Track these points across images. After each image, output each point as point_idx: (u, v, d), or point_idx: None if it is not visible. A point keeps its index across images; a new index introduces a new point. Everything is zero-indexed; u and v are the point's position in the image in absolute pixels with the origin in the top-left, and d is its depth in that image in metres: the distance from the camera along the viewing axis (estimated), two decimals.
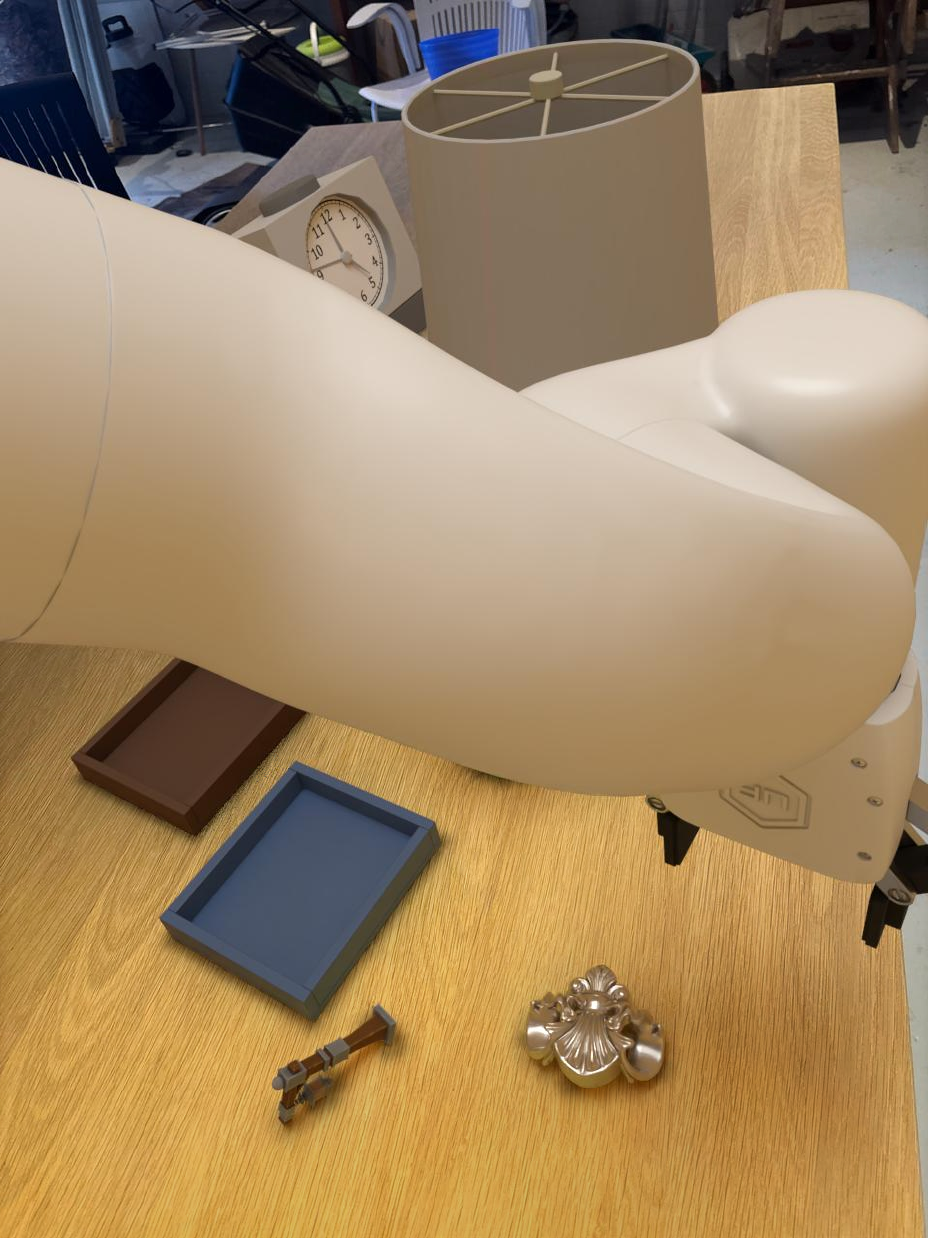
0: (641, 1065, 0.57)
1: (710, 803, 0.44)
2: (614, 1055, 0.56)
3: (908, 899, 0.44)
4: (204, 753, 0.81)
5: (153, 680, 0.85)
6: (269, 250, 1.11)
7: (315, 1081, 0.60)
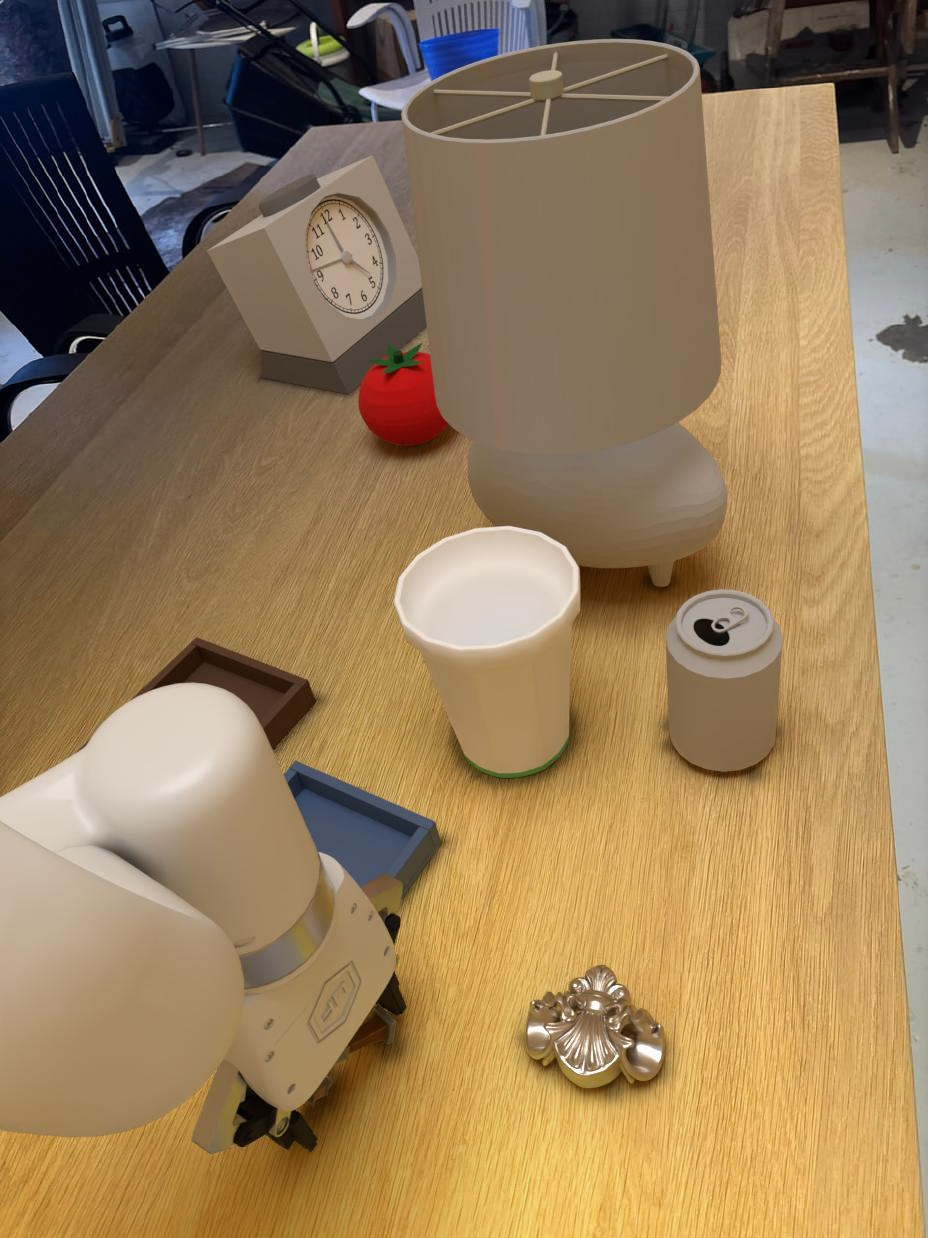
0: (641, 1065, 0.57)
1: (316, 1057, 0.52)
2: (614, 1055, 0.56)
3: None
4: None
5: (153, 680, 0.85)
6: (269, 250, 1.11)
7: None
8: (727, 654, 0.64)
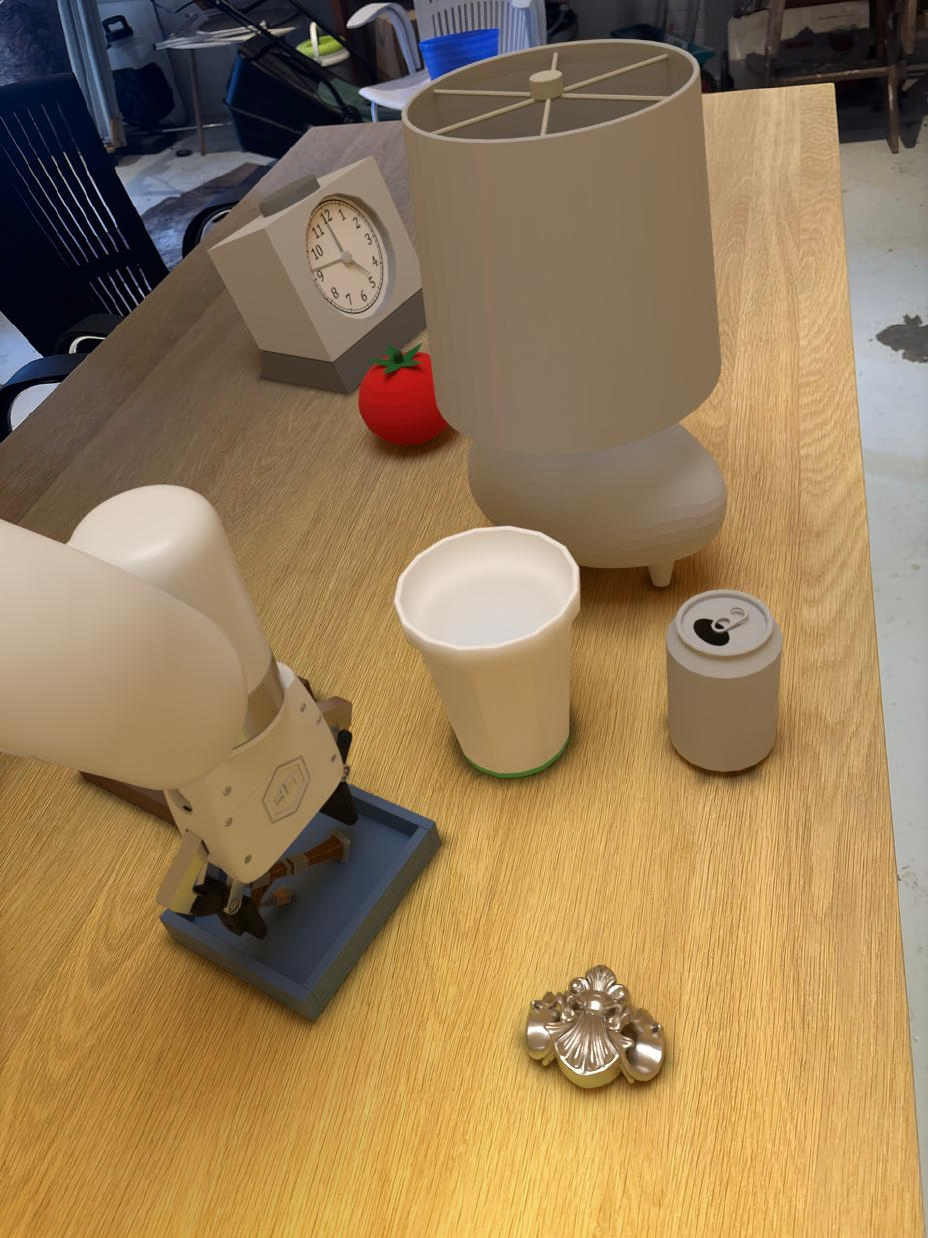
0: (641, 1065, 0.57)
1: (270, 836, 0.60)
2: (614, 1055, 0.56)
3: (347, 771, 0.68)
4: None
5: None
6: (269, 250, 1.11)
7: (279, 889, 0.69)
8: (727, 654, 0.64)
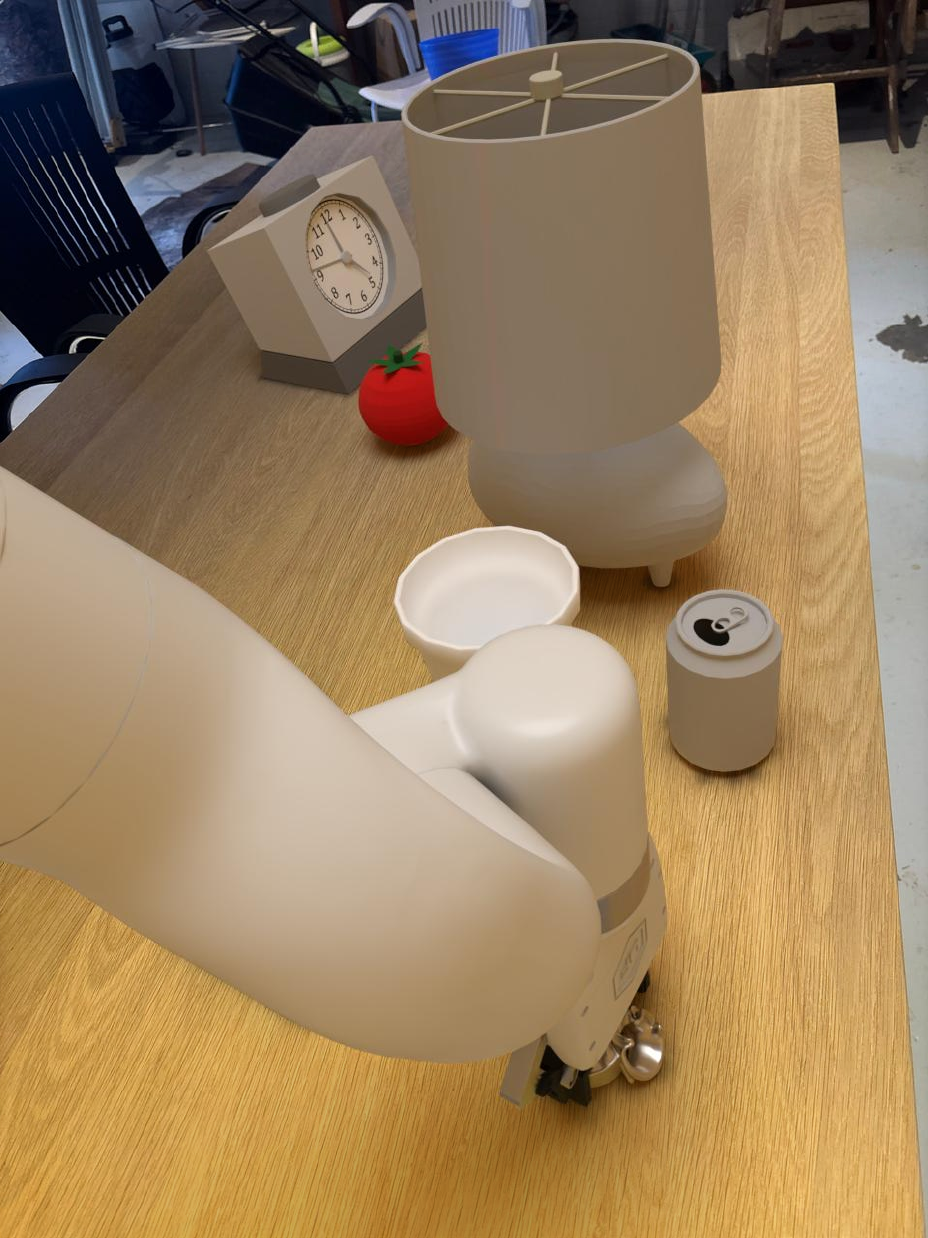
0: (641, 1065, 0.57)
1: (611, 1015, 0.51)
2: (614, 1055, 0.56)
3: None
4: None
5: None
6: (269, 250, 1.11)
7: None
8: (727, 654, 0.64)
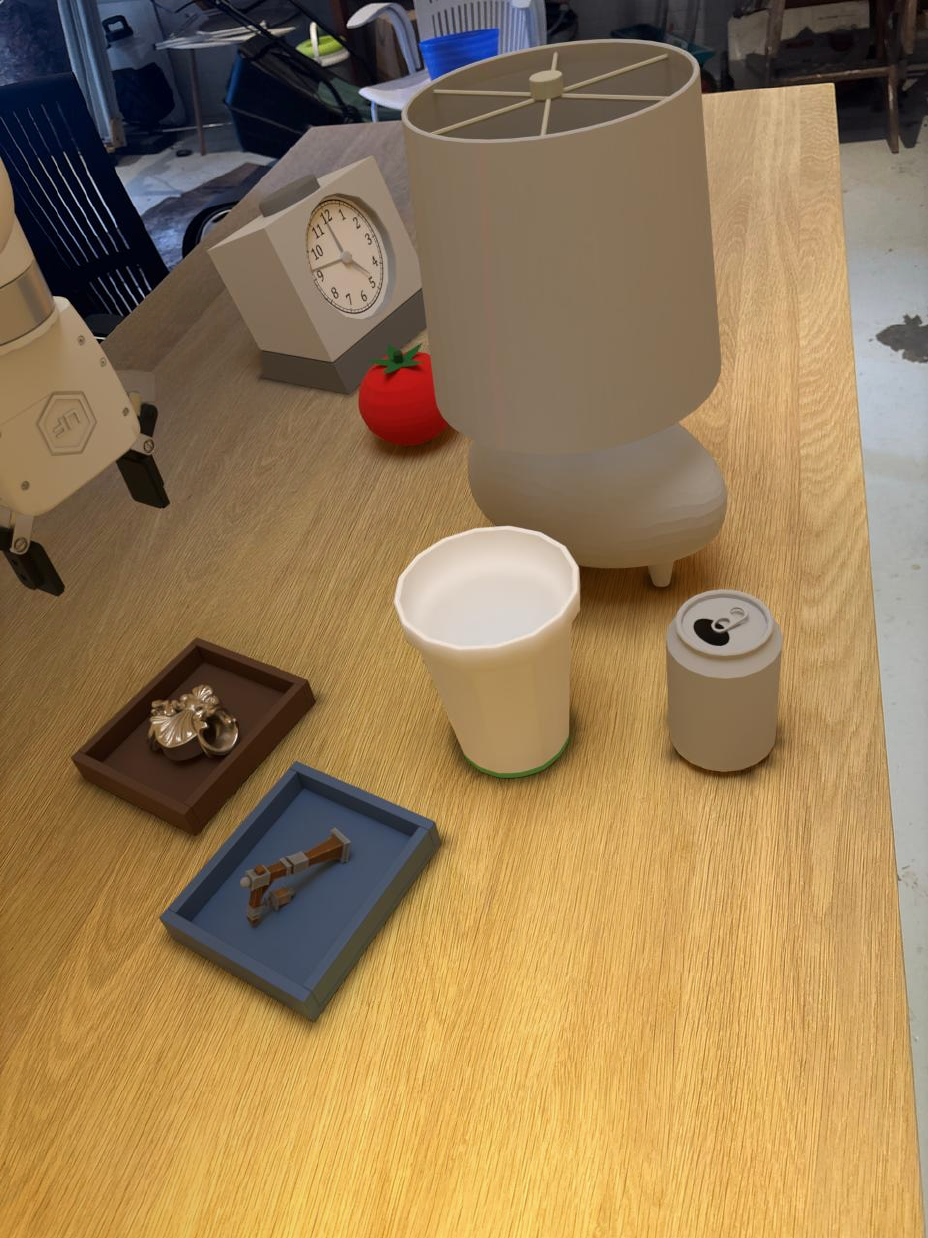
0: (218, 745, 0.80)
1: (51, 469, 0.61)
2: (192, 733, 0.78)
3: (152, 445, 0.69)
4: (204, 753, 0.81)
5: (153, 680, 0.85)
6: (269, 250, 1.11)
7: (279, 889, 0.69)
8: (727, 654, 0.64)
